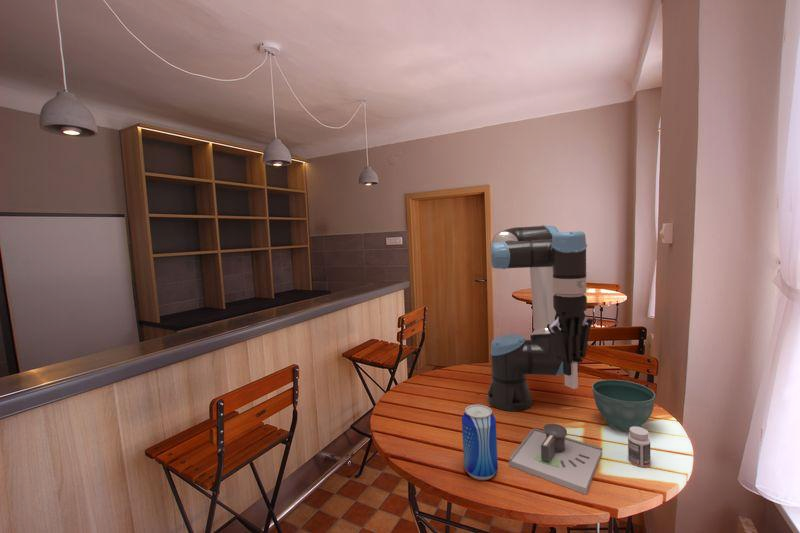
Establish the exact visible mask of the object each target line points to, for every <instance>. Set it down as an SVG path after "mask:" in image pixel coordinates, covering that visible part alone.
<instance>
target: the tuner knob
mask: <svg viewBox="0 0 800 533" xmlns="http://www.w3.org/2000/svg"><path fill="white" fill-rule="evenodd" d="M543 431H544V433H545V434H546V439H545V440H544V442H543V443H542V444H541V459H542V460H544V461H547V462H549V461H550V459H551V458H552V456H553V455H554V453H555V452H563V451H564V450H565V437H567V436H568V429H567V428H566V427H564V426H563V425H560V424H557V423H546V424H545V425H544V426H543Z"/></svg>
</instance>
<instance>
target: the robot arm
mask: <svg viewBox="0 0 800 533" xmlns="http://www.w3.org/2000/svg"><path fill="white" fill-rule="evenodd" d="M586 237H587V236H586V233H585V232H584V231H581V230H580V231H562V232H560V230H559V229H558V228H557V227H556V226H554V225H544V224H543V225H536V226H534V225H533V226H521V227H519V226H518V227H516V226H515V227H511V228H507V229H504V230H501V231H499V232H498V233H496V234H495V235H494V236H493V238H492V240H491V245H490V262H491V263H490V264H491V267H492V268H493V269H498V270H499V269H501V270H506V269H521V268H523V269H524V268H525V269H526V268H529V276H530V288H531V289H530V290H531V302H532V313H533V314H532V315H533V326H534V327H533V332H531V333H530V334H529V335H530V336H529V338H530V339H526V337H525V336H524V335H521V334H515V333H514V334H513V333H511V334H503V335H500V336H497V337H495V338H494V339H493V340H492V341H491V343H490V351H489V352H490V353H489V354H490V355H491V356H490V357H491V358H490V360H491V361H490V362H491V381H490V385H489V389H488V391H487V402H488V404H489V405H490V406H492V407H493V408H496V409H498V410H502V411H507V412H521V411H525V410H528V409H529V408H531V406H532V405H533V396H532V393H531V391H530V388H529V386H528V383H527V375H537V376H539V375H540V376H554V377H556V376H564V386H566V387H569V388H570V389H572V390H574V389H575V390H576V389H578V388H579V380H578V379H579V377H578V376H579V375H578V374H579V372H580V371H579V370H580V364H579V363H582V362H583V361H584V360H583V359H584V358H586V355H587V348H588V342H589V336H590V330H591V327H592V324H593V323H594V322H593V321H594V320H593V319H591V318H588V317H586V313H585V311H587V309H588V300H587V299H588V297H587V296H586V293H587V247H588V244H587V239H586Z"/></svg>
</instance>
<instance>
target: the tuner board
mask: <svg viewBox="0 0 800 533" xmlns="http://www.w3.org/2000/svg"><path fill="white" fill-rule="evenodd" d="M545 439H546V434H545V433H544V429H543V430H541V429H539V428H536V427H532V428H531V431H530V432H528V434H527V435H526V436H525V438H524V439H523V440H522V442H521V443H520V444H519V445H518V447H517V448H516V449H515V450H514V452H513V453H512V454H511V455H510V456H509V457H508V466H509V467H511V468H514V469H517V470H519V471H522V472H524V473H527V474H530V475H533V476H536V477H538V478H541V479H544V480H547V481H549V482H552V483H554V484H557V485H560V486H562V487H565V488H568V489H569V490H573V491H575V492H577V493H578V492H579V493H581V494H583V495H587V493H588V491H589V489H590V486H591V484H592V481H593V478H594V476H595V474H596V471H597V468H598V466H599V465H600V464H599V463H600V461H601V458H602V456H603V448H602V447H600V446H598V445H593V444H591V443H587V442H583V441H580V440H576V439H573V438H571V437H567V436H565V450H564V451H563V452H555V453H554V455H553V456H552V458H553V459H558V460H559V468H558V467H553V466H551V464H550V465H546V464H543V463H541V462H542V461H541V462H539V461H537V460H535V459H534V457H536V456H537V455H539V454H540V453H541V444H542V443H543V442H544V440H545ZM579 454H581V455H584V456H587V457H590V458H589V459H587V458H584V457H581V456H579ZM575 458H578V459H580V460H582V461H584V462H585V464H583V463H581V462H579V461H577V460H576V459H575ZM560 460H561V461H563V462H564V464H565V466H566V467H563V466H562V464H561V462H560ZM568 460H571V461H572V462H573V463H574V464H576V465H577V467H574V466H573V465H572V464H571V463H570V462H569V461H568Z"/></svg>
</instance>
